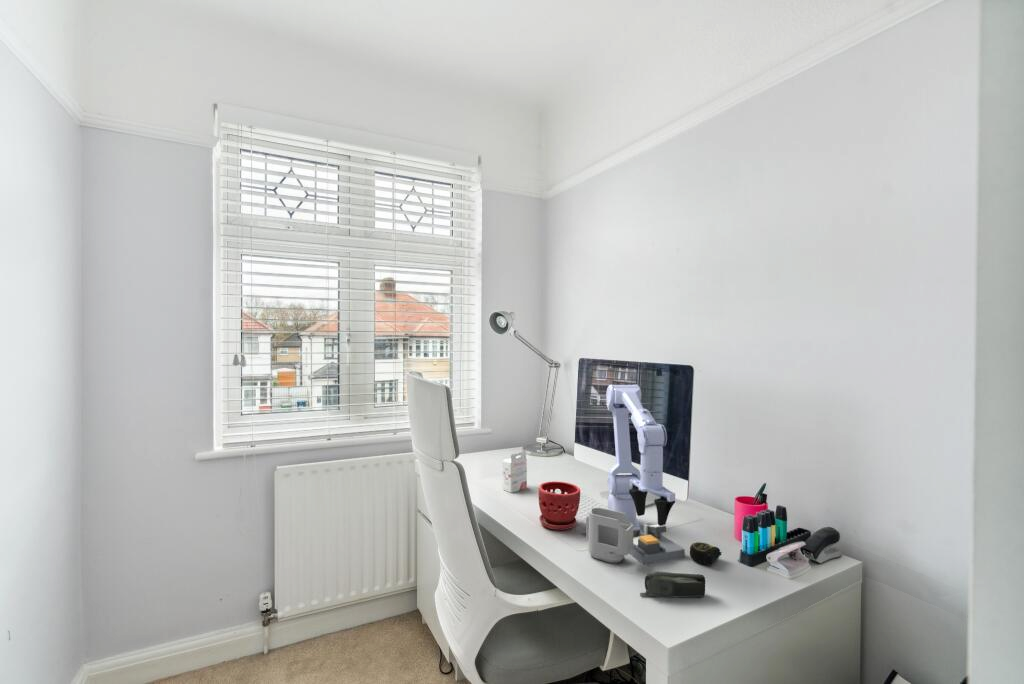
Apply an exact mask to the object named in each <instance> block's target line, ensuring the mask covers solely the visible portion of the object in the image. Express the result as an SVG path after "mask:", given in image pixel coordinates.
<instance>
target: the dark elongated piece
mask: <svg viewBox="0 0 1024 684" xmlns="http://www.w3.org/2000/svg"><path fill="white" fill-rule="evenodd" d="M644 588H645V592H640V593H639V595H640V597H662V598H663V597H664V598H666V597H667V598H687V599H701V598H704V597H705V596H706V577H705V576H704V575H703V574H699V573H685V572H684V573H683V572H669V571H654V572H649V573H647V574H646V575H645V578H644Z"/></svg>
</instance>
